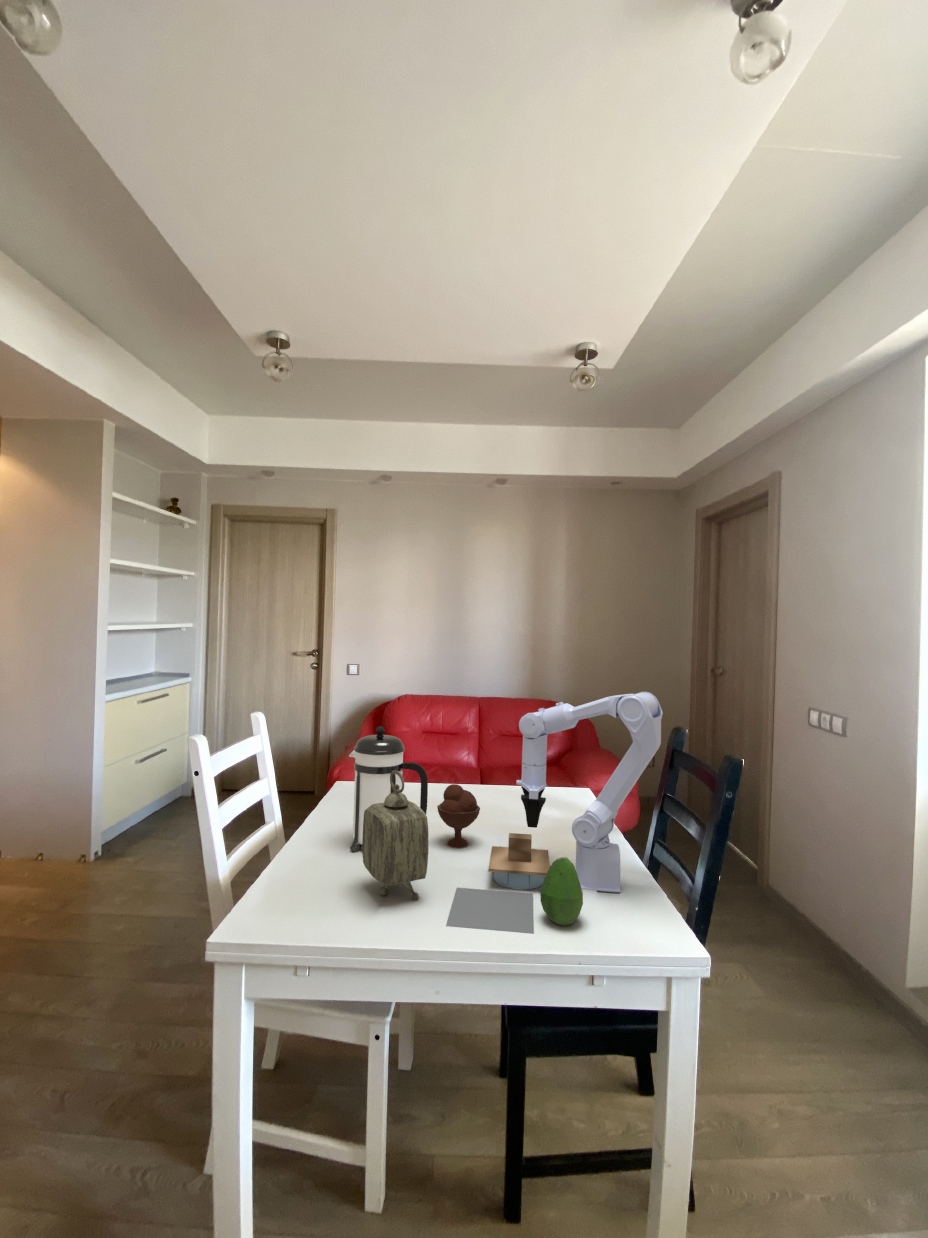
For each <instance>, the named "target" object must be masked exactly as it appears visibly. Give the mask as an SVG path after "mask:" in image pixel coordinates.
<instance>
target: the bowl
mask: <svg viewBox="0 0 928 1238" xmlns="http://www.w3.org/2000/svg"><path fill="white" fill-rule="evenodd" d="M544 878H545V876H542V875H528V874H514V873H501V872H493V880H494V881H495V882H496V883H497V884H499V885H500V886H503V887H505V888H508V889H513V890H521V891H523V890H533V889H536V888H539V887H541V886H542V883H543V881H544Z"/></svg>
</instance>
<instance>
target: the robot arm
mask: <svg viewBox="0 0 928 1238" xmlns="http://www.w3.org/2000/svg"><path fill="white" fill-rule="evenodd" d="M603 715H609V716H612V717H613V718H615V719H616V718H620V720H621V721H622V722H623V724H624V726H625V727H626V728H627V730H628V731H629V734H630V737H631V740H632V743H631V744H630V746H629V748H628V750H627V751H626V752H625V754H624V755H623V757H622V759H621V760H620V762H619V763H618V765H617V766H616V768H615V770H614V771H613V772H612V774H611V776H610V778H608V780H607V782H606V783H605V785H604V786H603V788H602V790H601V791H600V792H599V794H598V796H597V797H596V799H595V800H594V801H593V802H592V803H591V804H590V806H589V807H588V808H587V809H586V810H585V812H584V813H583V814H582V815H580V816H577V817H576V818H575V819H574V820H573V822H572V825H571V832H572V835H573V838H574V839H575V844H576V845H575V869H576V872H577V875H578V879H579V882H580V885H581V889H582V890H589V891H597V892H607V893H621V849H620V846H619V844H618V843H613V842H611V841H610V838H609V836H610V833H611V832H612V831H613V829H614V827H615V826H614V825H615V819H616V817H617V816H618V813H619V811H618V810H619V809H620V807H621V806H622V805H623V803H624V801H625V799H627V796H629V794H630V792H631V791H632V789H633V788H634V786H635V785H636V783H637V781H638V780H639V779H640V777H641V776H642V775H643V773H644V771H645V770H646V768H647V767H648V765H649V764H650V762H651V761H652V759H653V758H654V756H655V755H656V753H657V752H658V750H659V749H660V746H661V744H662V718H663V715H664V712H663V709H662V707H661V704H660V702H659V700H658V698H657V697H656V696H655V694H653V693H651V692H648V691H639V692H637V693H626V694H625V693H624V694H616V695H611V696H606V697H603V698H600V699H596V700H593V701H590V702H587V703H583V704H580V705H577V706H573V705H572V704H570V703H564V702H563V701H560V702H556V703H555V706H551V707H549V708H544V707H542V708H541V707H540V708H538V711H535V712H527V713H526V714H524V715H522V716H521V717H520V720H519V723H518V727H519V732H520V733H521V734H522V751H521V757H522V758H521V777H520V778H521V779H516V784H515V785H517V786H521V790H522V792H523V794H521V795H520V800H521V802H522V803H523V808H524V811H525V819H526V825H527V828H537V827H538V825H539V822H540V816H541V811H542V809H543V806H544V805H545V803H546V800H547V798H546V797H542V795H543V793H544V791H545V788H546V787H547V755H548V754H547V753H548V751H547V749H548V736H549V735H551V734H554V733H559V732H562V731H566V730H570V729H574V728H575V727H576V726H577V724H578V723H579V721H581V720H584V719H585V720H586V719H590V718H594V717H598V716H603Z"/></svg>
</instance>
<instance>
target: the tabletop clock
mask: <svg viewBox="0 0 928 1238" xmlns="http://www.w3.org/2000/svg"><path fill="white" fill-rule="evenodd" d="M393 774H397V775H398V776H399V777H400V779H401V782H402V789H401V790H399V785H398V784H396V785H395V786H394V784H393V782H392V776H393ZM404 779H405V778H404V776H403V773H402V774H401V773H400V772H398V771H396V770H394V771H392V772H391V774H390V783H391V787H392V788H393V790H394V793H391V794H389V795H388V796H387V797H386V799H385V801H384V803H377V804H372V805H371V806H370V807H368V808H367V809H366V810H365V812H364V819H363V845H362V846H361V847H362V863H363V865H364V867H365V869H366V871H368V872H369V874H370V876H372V877H373V878H374V879H375V880H376V881H377V882H378V883H381V884H383V885H382V887H380V888H379V895H380V896H382V897H383V896H386V894H387V893H388V889H387V886H390V887H391V886H396V885H400V884H404V885H406V886H407V888H408V890H409V891H410V893H411V894H410V898H411V900H412V901H414V902H416V901H418V900H419V899H420V894H419V893H418V892H416V891H414V888H413V886H412V883H411V882H414V881H419V880H425V879H426V876H427V873H428V863H429V850H430V849H429V846H430V845H429V823H428V817H427V813H426V814H425V813H424V811H423V810H422V809H421V808H420V806H418V804H416V803H415V802H413V801H410V800H408V797H407V796H406V794H405V793H403V791H404V789H405V780H404ZM401 792H402V793H401Z"/></svg>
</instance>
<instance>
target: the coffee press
mask: <svg viewBox="0 0 928 1238" xmlns="http://www.w3.org/2000/svg"><path fill="white" fill-rule="evenodd" d="M385 732H386V729H385V728H384V727H383V726H381V725H379V726H377V727H376V728H375V734H370V735H366V736H363V737H361V738H360V739H358V740H357V742H356V745H354V747H353V751H352V752H351V753H349V755H348V757H349V758H354V759H355V760H354V764H353V766H354V767H353V769H354V787H353V788H354V793H353V795H354V796H353V818H352V819H353V824H352V825H353V826H352V837H353V841H352V842H351V845H350V847H349V849H350V851H351V852H353V853H356V852H357V853H358V851H359V849H360V848H361V847H362V845H363V819H364V812H365V810H366V809H367V808H368V807H370V806H371V805H372V804H377V803H384V801H385V799H386V797H387V796H388V795H389V794H391V793H394V790H393V788H392V787H391V783H390V774H391V772H392V771H394V770H396V771H398V772H400V773H401V774H402V775H403V770H410V771H414V772H416V773H417V774H418V775H419V778H420V803H419V805H420V806H419V807H420V808H421V809H422V810H423V811H424V813H425V814H426V815H427V811H428V789H429V788H428V787H429V784H428V783H429V780H428V774H427V772H426V769H425V768H424V767H423V766H422V765H420V764H419V763H417V762H411V761H410V762H405V761H404V752H405V750H406V746H405V745H404V744H403V741H402V740H401V739H400V738H398V737H397V736H395V735H388V734H385ZM392 782H393V784H394V786H395V785H396V784H398V785H399V790H401V789H402V782H401V779H400V777H399V776H398V775H397V774H393V776H392ZM401 793H403V792H401Z"/></svg>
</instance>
